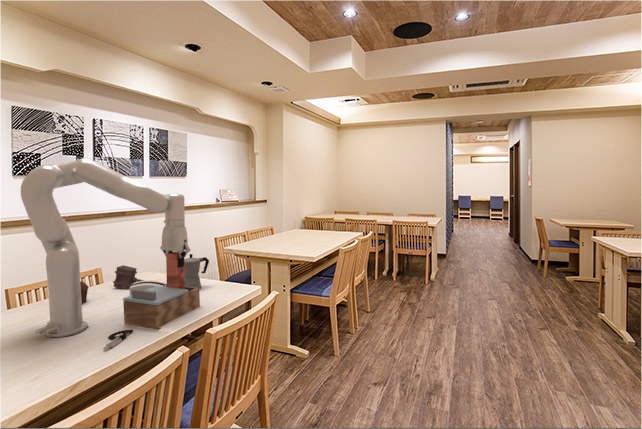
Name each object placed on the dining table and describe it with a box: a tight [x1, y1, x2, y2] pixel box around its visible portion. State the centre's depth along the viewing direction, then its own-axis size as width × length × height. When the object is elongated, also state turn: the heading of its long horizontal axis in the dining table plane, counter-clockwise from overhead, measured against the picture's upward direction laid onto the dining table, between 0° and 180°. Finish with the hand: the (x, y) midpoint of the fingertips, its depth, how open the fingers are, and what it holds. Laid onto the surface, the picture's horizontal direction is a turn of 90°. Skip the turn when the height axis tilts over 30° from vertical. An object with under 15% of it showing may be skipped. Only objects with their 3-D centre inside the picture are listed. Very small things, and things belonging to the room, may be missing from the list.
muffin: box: [80, 280, 89, 305], centre depth 159 cm, size 12×11×10 cm
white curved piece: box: [128, 280, 167, 296], centre depth 165 cm, size 17×5×10 cm, turn 97°
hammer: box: [112, 265, 167, 290], centre depth 182 cm, size 7×33×10 cm, turn 86°
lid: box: [122, 286, 188, 305], centre depth 140 cm, size 17×16×4 cm
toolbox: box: [122, 285, 201, 331], centre depth 144 cm, size 24×16×9 cm, turn 161°
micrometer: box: [102, 329, 134, 352], centre depth 122 cm, size 15×7×2 cm, turn 177°
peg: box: [165, 251, 185, 289], centre depth 150 cm, size 5×5×18 cm
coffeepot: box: [184, 253, 210, 291], centre depth 181 cm, size 15×9×18 cm, turn 121°
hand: (175, 265), depth 150 cm, fingers closed on peg, 4 cm apart
